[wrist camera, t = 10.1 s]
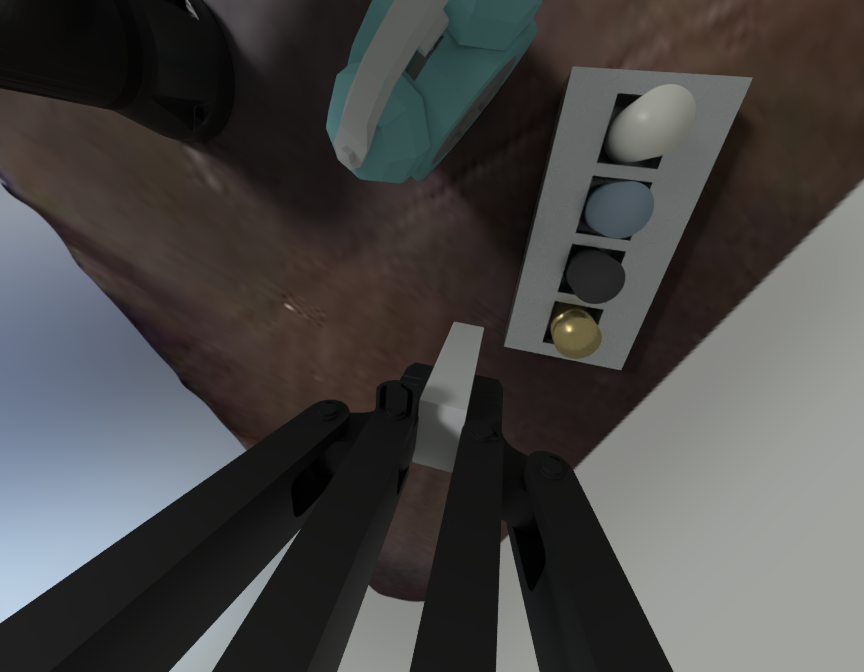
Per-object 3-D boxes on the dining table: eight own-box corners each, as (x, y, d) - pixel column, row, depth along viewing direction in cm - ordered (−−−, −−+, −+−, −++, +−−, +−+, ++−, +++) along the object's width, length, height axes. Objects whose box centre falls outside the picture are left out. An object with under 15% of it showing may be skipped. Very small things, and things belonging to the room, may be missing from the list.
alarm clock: (482, -36, 27) (429, -447, 10) (554, 53, 29) (622, -169, 11) (369, 139, 35) (224, 86, 17) (429, 202, 36) (351, 212, 19)
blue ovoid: (574, 227, 32) (586, 234, 27) (588, 180, 30) (604, 178, 25) (619, 233, 32) (641, 242, 26) (636, 186, 30) (663, 184, 25)
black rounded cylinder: (557, 283, 35) (566, 299, 30) (569, 243, 33) (580, 252, 28) (598, 290, 34) (614, 307, 29) (613, 249, 32) (633, 261, 27)
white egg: (596, 161, 29) (615, 154, 24) (613, 103, 27) (638, 81, 22) (647, 166, 28) (678, 160, 23) (669, 107, 26) (708, 86, 21)
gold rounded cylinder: (543, 331, 38) (548, 353, 32) (553, 296, 36) (561, 314, 30) (581, 338, 37) (593, 362, 32) (594, 303, 35) (608, 323, 30)
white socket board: (504, 331, 41) (504, 346, 37) (564, 83, 29) (572, 66, 25) (609, 351, 39) (621, 370, 35) (717, 94, 27) (752, 77, 23)
